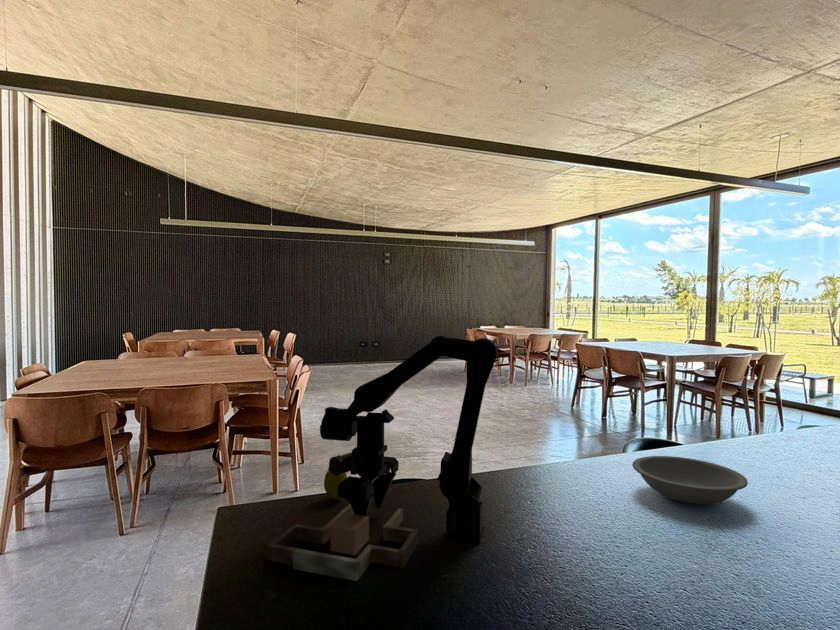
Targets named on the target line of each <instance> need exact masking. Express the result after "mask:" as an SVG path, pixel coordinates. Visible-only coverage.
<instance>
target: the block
mask: <svg viewBox="0 0 840 630" xmlns="http://www.w3.org/2000/svg"><path fill="white" fill-rule="evenodd" d="M369 541H370V516H368V515H367V516H362V515H355V514H349V513H346V514H345V515H343V516H342V517H341V518H340V519H339V520H337V521H336V522H335V523H334V524H333V525H332V526H331V538H330V551H331V552H335V553H341V554H345V555H352V556H356V555H357V554H358V552H360V551H361V549H362V548H363V547H364V546H365V545H366V544H367V543H368V542H369Z"/></svg>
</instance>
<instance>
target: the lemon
mask: <svg viewBox="0 0 840 630" xmlns="http://www.w3.org/2000/svg"><path fill="white" fill-rule="evenodd" d="M347 477H348V476H347V472H346V473H342V474H339V475H338V476H334V474H332V473H331V472H330V471H329V470H327V471H326V473H325V475H324V480H323V488H324V491H325V493H326V494H327V493H331V494H327V495H328V496H329V497H330V498H333V499H334V500H338V498H339V497H338V496H337V493H333V492H337V486H338V485H339V484H340V483H341V482H342V481H343V480H345V479H346V478H347Z"/></svg>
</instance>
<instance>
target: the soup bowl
mask: <svg viewBox="0 0 840 630" xmlns="http://www.w3.org/2000/svg"><path fill="white" fill-rule="evenodd" d="M632 468H633V470H635V472H637V473H638V474H640V475H641V477H642V479H643V480H644V481H645V482H646V484H647V485H648V486H649V487H650V488H651V489H653V490H654V491H655V492H657V493H658V494H660V495H663V496H664V497H667V498H669V499H672V500H674V501H679V502H683V503H688V504H694V505H713V504H718V503H722V502H725V501H726V500H729V499H730V498H733V496H734V495H735V494H736V493H737V492H738V491H739V490H742V489H744V488H746V487H747V486H748V484H749V482H748V479H747V477H745V476H744V475H743V474H741V473H740V472H738V471H736V470H734V469H731V468H728V467H726V466H723V465H720V464H717V463H714V462H709V461H706V460H702V459H695V458H689V457H684V456H683V457H681V456H674V455H673V456H671V455H652V456H643V457H638V458H636V459H635V460H633V461H632Z"/></svg>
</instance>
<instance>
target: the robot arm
mask: <svg viewBox="0 0 840 630" xmlns="http://www.w3.org/2000/svg"><path fill="white" fill-rule="evenodd" d="M498 355H499V349H498V346H497V345H496V343H495V342H494V341H493V340H491V339H490V338H488V337H487V338H485V337H481V338H477V339H476V340H475V339H474V340H469V339H462V338H454V337H449V336H447V335H437V336H436V337H433V338H432V340H431V341H430V342H428V343H427V344H426V345H424V346H423V347H422V348H421V349H419V350H418V351H416V352H415V353H414V354H412V355H410V356H409V357H408V358H406V359H405V360H404V361H402V362H401V363H400V364H398V365H397V366H395V367H394V368H393V369H391V370H390V371H388V372H387V373H385V374H383V375H381V376H379V377H376V378H374V379H372V380H370V381H367V382H366V383H363V384H361V385H360V386H358V387H357V388H356V389H355V391H354V393H353V400H352V402H351V403H350V404H349V406H347V408H340V407H339V408H338V407H333V406H328V407H326V408H325V409H324V415H323V416H322V419H321V424H320V425H319V433H320V438H321V439H322V440H328V441H341V442H350V441H351V440H352V439H353V437H355V436H356V446H355V447H354V448H353V449H352V450H351V452H349V453H345V454H341V455H340V454H339V455H337V456H335V455H334V456H332V457H330V458H329V462H328V468H327V469H328V470H329V471H330V472H331V473H332V474H334V476H338V475H339V474H342V473H346V474H347V473H348V472H350V475H353V476H350V475H349V476H347V478H346V479H345V480H343V481H342V482H341V483H340V484H339V485H338V486H337V496H338V498H341V499H342V500H347V502H349V504H351V506H352V509H353V512H354V514H355V515H362V516H368V514H369V510H370V508H371V505H372V501H373V499H374V506H375V508H376V509H377V510H378V509H381V508H382V506H383V504H384V502H385V500H386V497H387V495H388V492H389V490H390V488H391V485H392V483H393V480H394V479H395V477H396V475H397V472H398V471H399V464H400V463H399V460H398V459H397V458H396V457H393V456H385V453H386V451H388V445H387V444H385V424H390V423H391V422H392V421H394V420H395V416H394V415H392V414H391V413H390V412H389V411H388V409H387V408H385V409H384V410H382V411H381V412H373V411H375V410H377V409H378V408H379V409H380V407H382V406H383V405H385V404H386V402H387V401H388V400H390V399H391V397H392V396H393V395H394V394H395V393H396V392H397V390H398V389H399V388H400V387H401V386H402V385H404V384H405V383H407V382H408V381H409V380H411V379H412V378H414V377H415V376H416V375H418V374H419V373H420V372H422V371H424V370H425V369H426V368H427V367H429V366H430V365H432V364H433V363H434V362H436V361H437V360H440V358H441V357H447V358H452V359H455V360H460V361H466V367H465V369H466V384H465V385H466V386H465V391H464V395H463V400H462V405H461V410H460V415H459V418H458V420H459V421H458V422H457V423H458V425H457V429H456V433H455V438H454V443H453V447H452V451H451V453H450V452H448V451H445V453H444V454H443V456H442V458H441V460H440V471H439V474H438V476H437V478H436V481H438V482H439V485H438V486H439V491H440V492H441V493H442V496H444V497H445V499H447V500H448V508H447V509H446V512H445V522H446V523H445V530H446V532H447V534H446V539H447V540H451V541H456V542H457V541H458V542H465V543H471V544H480V543H481V540H482V537H483V534H484V531H485V528H484V526H483V502H482V501H480V499H481V494H482V490H483V489H482V488H483V487H482V486H481V484H480V483H479V482H478V481H477V480H476V479H475V478H474V477H473V446H474V441H475V436H476V432H477V427H478V424H479V418H480V413H481V407H482V403H483V399H484V394H485V389H486V385H487V383H488V380H489V377H490V376H491V372H492V370H493V368H494V365H495V363H496V360H497V358H498ZM363 412H365V413H367V414H366V415H359V414H361V413H363ZM328 470H327V471H328ZM356 475H358V476H356Z"/></svg>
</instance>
